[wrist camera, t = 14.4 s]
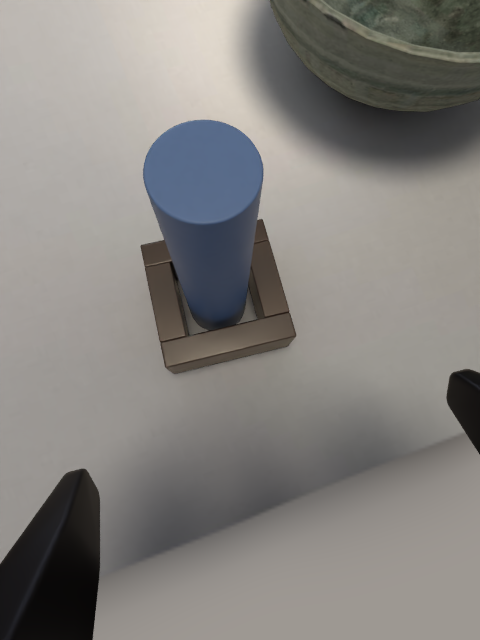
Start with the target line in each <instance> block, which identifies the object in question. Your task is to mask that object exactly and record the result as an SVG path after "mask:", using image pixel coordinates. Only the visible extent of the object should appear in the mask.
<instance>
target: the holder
mask: <svg viewBox="0 0 480 640" xmlns="http://www.w3.org/2000/svg"><path fill="white" fill-rule="evenodd" d="M141 251H142V256H143V261H144V265H145V271H146V276H147V281H148V286H149V290H150V295H151V300H152V305H153V310H154V315H155V320H156V325H157V330H158V335H159V340H160V342H161V349H162V354H163V359H164V364H165V367H166V368H167V369H168V370H169V371H171V372H172V373H173V374H176V373H180V372H184V371H188V370H192V369H197V368H201V367H205V366H209V365H213V364H217V363H221V362H225V361H229V360H233V359H237V358H242V357H246V356H250V355H254V354H258V353H262V352H266V351H270V350H274V349H278V348H282V347H287V346H288V345H289V344H290V343H291V342H292V340H293V339H294V338H295V337H296V332H295V329H294V325H293V322H292V318H291V315H290V313H289V308H288V304H287V301H286V297H285V294H284V290H283V287H282V284H281V280H280V277H279V273H278V270H277V266H276V263H275V259H274V256H273V253H272V249H271V246H270V242H269V241H268V236H267V232H266V229H265V225H264V222H263V220H262V219H260V220H257V225H256V232H255V239H254V246H253V253H252V260H251V267H250V274H249V282H248V285H249V288H250V292H251V296H252V300H253V303H254V307H255V311H256V314H257V318H258V319H257V320H253V321H249V322H245V323H240V324H236V325H232V326H228V327H223V328H219V329H215V330H211V331H207V332H202V333H198V334H194V335H190V336H189V333H188V328H187V324H186V319H185V315H184V310H183V306H182V301H181V297H180V292H179V288H178V283H177V280H179V278H178V275H177V273H176V270H175V267H174V264H173V262H172V259H171V256H170V254H169V251H168V248H167V245H166V243H165V240H162V241H158V242H153V243H148V244H144V245H141Z"/></svg>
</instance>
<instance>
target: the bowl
mask: <svg viewBox="0 0 480 640" xmlns="http://www.w3.org/2000/svg"><path fill="white" fill-rule="evenodd" d="M270 4H271V8H272V10H273V12H274V15H275V17H276V20H277V22H278V24H279V26H280V28H281V30H282V32H283V34H284V36H285V38H286V40H287V42H288V43H289V45H290V46H291V48H292V49H293V50H294V52H295V53H296V54H297V55H298V57H299V58H300V59H301V60H302V62H303V63H304V64H305V65H306V67H307V68H308V69H309V70H310V71H312V72H313V73H314V74H315V75H316V76H317V77H319V78H320V79H321V80H322V81H323V82H325V83H326V84H327V85H328V86H330V87H331V88H333V89H335V90H336V91H338V92H340V93H341V94H343V95H345V96H347V97H348V98H350V99H353V100H356V101H359V102H362V103H364V104H367V105H370V106H373V107H378V108H384V109H390V110H396V111H419V112H428V111H433V110H438V109H443V108H448V107H453V106H457V105H461V104H465V103H468V102H472V101H475V100H478V99H480V0H270Z"/></svg>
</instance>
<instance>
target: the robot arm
mask: <svg viewBox="0 0 480 640" xmlns="http://www.w3.org/2000/svg"><path fill="white" fill-rule="evenodd" d="M446 398H447V403H448V405H449V407H450V409H451V410H452V412H453V414H454V415H455V417H456V418H457V420H458V421H459V423H460V424H461V426H462V428H463V429H464V431H465V432H466V434H467V435H468V437H469V438H470V440H471V441H472V443H473V445H474V446H475V448H476V449H477V451H478V452H479V454H480V373H478V372H476V371H473V370H470V369H464V370H460V371H456V372H453V373H452V374H451V375H450V378H449V384H448V390H447V397H446ZM99 571H100V497H99V492H98V489H97V487H96V486H95V484H94V482H93V480H92V478H91V477H90V475H89V473H88V471H87V470H86V469H79V470H75V471H71V472H68V473H66V474H65V475H64V476H63V478H62V479H61V480H60V482H59V483H58V485H57V486H56V487H55V489H54V490H53V492H52V493H51V494H50V496H49V497H48V498H47V500H46V501H45V503H44V504H43V505H42V507H41V508H40V510H39V511H38V512H37V514H36V515H35V517H34V518H33V519H32V521H31V522H30V523H29V525H28V526H27V528H26V529H25V530H24V532H23V533H22V535H21V536H20V537H19V539H18V540H17V541H16V543H15V544H14V546H13V547H12V548H11V550H10V551H9V553H8V554H7V555H6V557H5V558H4V560H3V561H2V562H1V564H0V640H92V639H93V629H94V620H95V611H96V601H97V592H98V583H99Z"/></svg>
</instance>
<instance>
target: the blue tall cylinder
mask: <svg viewBox="0 0 480 640" xmlns="http://www.w3.org/2000/svg"><path fill="white" fill-rule="evenodd" d="M143 178H144V184H145V187H146V190H147V193H148V196H149V199H150V201H151V204H152V207H153V210H154V212H155V215H156V218H157V221H158V223H159V226H160V229H161V232H162V234H163V237H164V240H165V243H166V245H167V248H168V251H169V254H170V256H171V259H172V262H173V264H174V267H175V270H176V273H177V275H178V278H179V281H180V284H181V286H182V289H183V292H184V295H185V297H186V300H187V303H188V306H189V308H190V311H191V314H192V316H193V318H194V320H195V321H196V322H197V323H198V324H199V325H200V326H202V327H203V328H205V329H207V330H215V329H219V328H223V327H228V326H232V325H236V324H237V323H238V322H239V321H240V319H241V318H242V316H243V313H244V309H245V303H246V296H247V289H248V282H249V274H250V267H251V260H252V253H253V246H254V239H255V232H256V225H257V218H258V211H259V204H260V197H261V190H262V182H263V164H262V160H261V157H260V154H259V152H258V150H257V149H256V147H255V145H254V144H253V143H252V141H251V140H250V139H249V138H248V137H247V136H246V135H245V134H244V133H242V132H241V131H240V130H238V129H236V128H234V127H233V126H230V125H228V124H226V123H222V122H219V121H213V120H194V121H188V122H185V123H181V124H179V125H176V126H174V127H172V128H170V129H169V130H167V131H166V132H164V133H163V134H162V135H161V136H160V137H159V138H158V139H157V140H156V141H155V142H154V143H153V145H152V146H151V148H150V149H149V151H148V154H147V156H146V159H145V163H144V169H143Z"/></svg>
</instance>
